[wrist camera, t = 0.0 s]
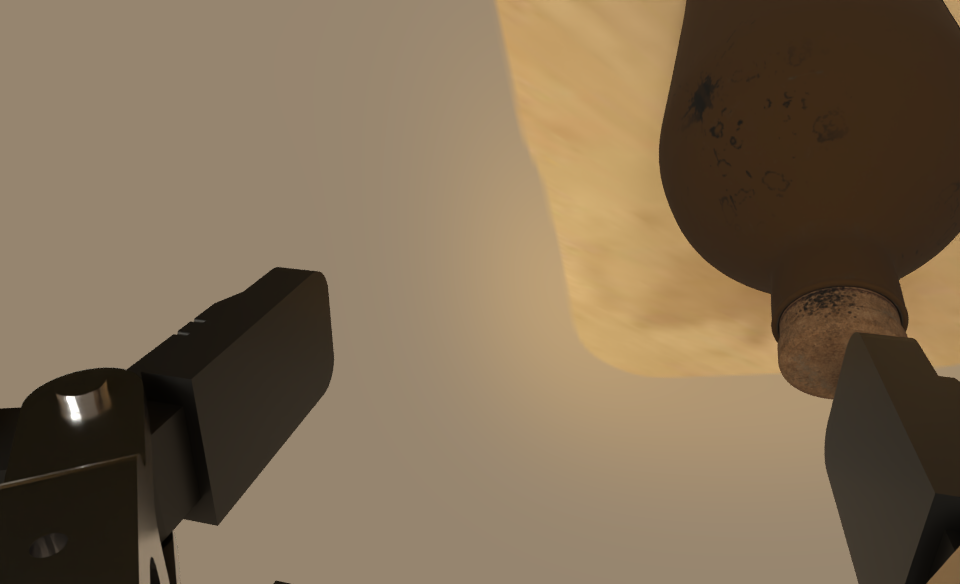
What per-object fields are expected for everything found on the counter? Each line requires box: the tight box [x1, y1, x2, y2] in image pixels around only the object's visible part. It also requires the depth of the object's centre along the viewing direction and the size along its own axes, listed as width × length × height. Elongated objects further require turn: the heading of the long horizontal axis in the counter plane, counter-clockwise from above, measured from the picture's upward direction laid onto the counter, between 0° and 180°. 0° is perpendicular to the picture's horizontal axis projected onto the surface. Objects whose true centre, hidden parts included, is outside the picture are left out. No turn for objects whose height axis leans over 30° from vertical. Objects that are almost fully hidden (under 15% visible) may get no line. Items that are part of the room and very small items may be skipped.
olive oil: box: [659, 0, 960, 399], centre depth 28 cm, size 11×11×25 cm
